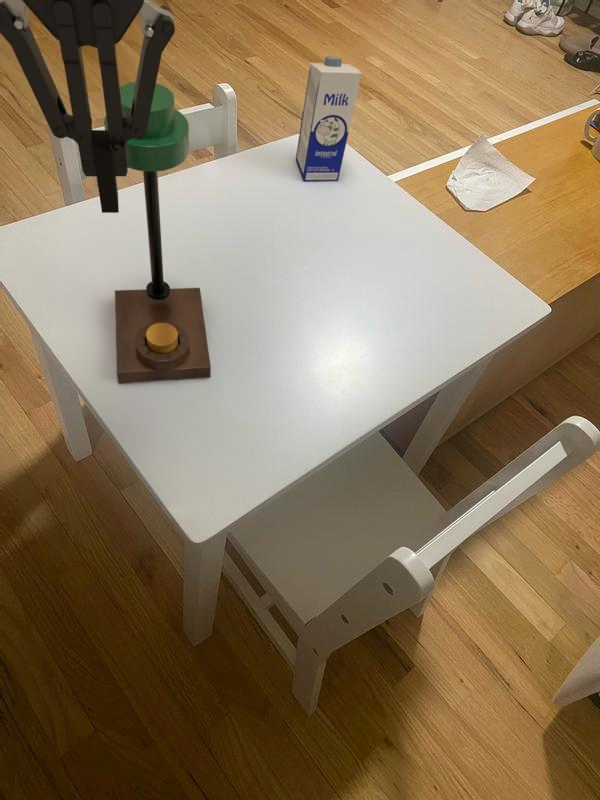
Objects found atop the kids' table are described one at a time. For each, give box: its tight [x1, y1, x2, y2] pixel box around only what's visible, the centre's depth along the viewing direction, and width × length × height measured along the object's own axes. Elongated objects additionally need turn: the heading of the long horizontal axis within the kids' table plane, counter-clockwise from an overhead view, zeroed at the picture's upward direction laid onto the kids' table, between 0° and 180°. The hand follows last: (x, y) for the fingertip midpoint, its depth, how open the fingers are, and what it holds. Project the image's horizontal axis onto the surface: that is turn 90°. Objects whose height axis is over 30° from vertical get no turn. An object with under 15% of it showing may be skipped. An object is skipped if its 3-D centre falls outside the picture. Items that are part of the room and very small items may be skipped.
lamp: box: [103, 81, 190, 300], centre depth 74 cm, size 9×9×27 cm
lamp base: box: [114, 287, 212, 384], centre depth 83 cm, size 12×15×4 cm
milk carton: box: [295, 55, 363, 182], centre depth 105 cm, size 7×7×20 cm
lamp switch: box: [146, 323, 178, 354], centre depth 79 cm, size 4×4×2 cm
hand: (110, 203), depth 56 cm, fingers closed
